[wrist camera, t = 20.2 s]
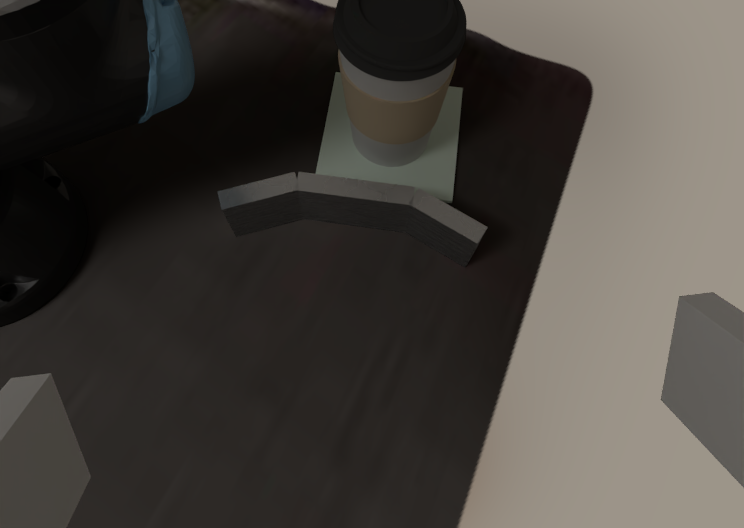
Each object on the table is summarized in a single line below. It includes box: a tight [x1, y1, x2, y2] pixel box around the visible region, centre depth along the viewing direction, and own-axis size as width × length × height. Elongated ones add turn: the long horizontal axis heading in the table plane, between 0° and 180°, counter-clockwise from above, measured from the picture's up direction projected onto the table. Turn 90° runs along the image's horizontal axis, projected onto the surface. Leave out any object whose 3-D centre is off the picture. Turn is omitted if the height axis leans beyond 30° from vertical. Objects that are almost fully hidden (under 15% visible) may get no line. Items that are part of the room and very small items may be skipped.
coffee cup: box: [333, 0, 466, 167], centre depth 41 cm, size 9×9×15 cm
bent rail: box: [218, 172, 488, 267], centre depth 43 cm, size 20×4×5 cm, turn 82°
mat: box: [316, 72, 463, 203], centre depth 49 cm, size 12×12×1 cm
